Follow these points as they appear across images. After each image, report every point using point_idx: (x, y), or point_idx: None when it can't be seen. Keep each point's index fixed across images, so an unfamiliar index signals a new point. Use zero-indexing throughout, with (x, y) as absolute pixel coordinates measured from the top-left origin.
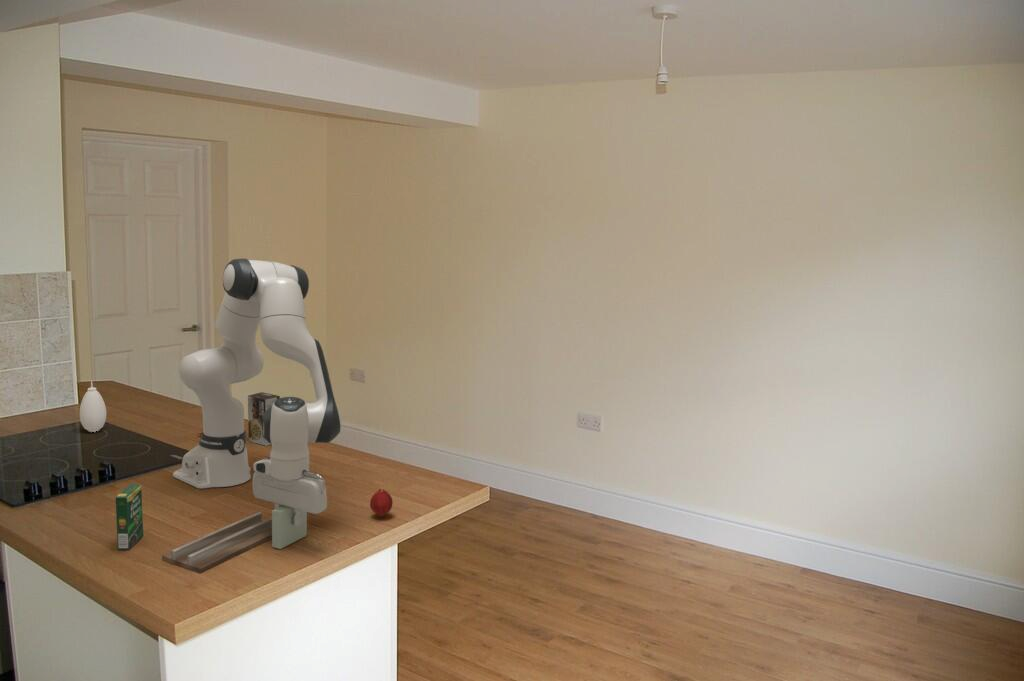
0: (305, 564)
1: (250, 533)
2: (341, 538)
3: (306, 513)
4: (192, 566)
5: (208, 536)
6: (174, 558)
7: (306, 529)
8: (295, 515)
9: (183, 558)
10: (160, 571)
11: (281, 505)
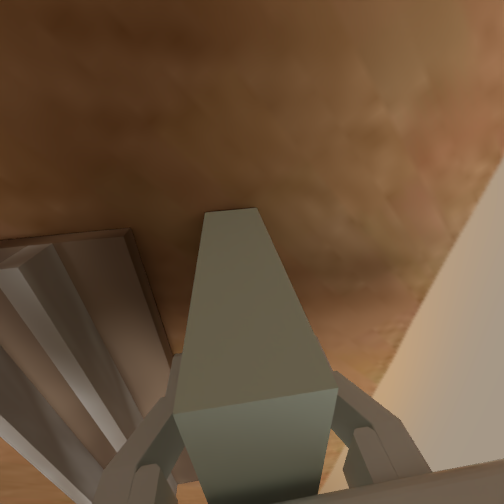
0: (391, 341)
1: (111, 384)
2: (424, 114)
3: (286, 276)
4: (183, 482)
5: (69, 480)
6: None
7: (262, 221)
8: (338, 433)
9: None
10: None
11: (171, 500)
